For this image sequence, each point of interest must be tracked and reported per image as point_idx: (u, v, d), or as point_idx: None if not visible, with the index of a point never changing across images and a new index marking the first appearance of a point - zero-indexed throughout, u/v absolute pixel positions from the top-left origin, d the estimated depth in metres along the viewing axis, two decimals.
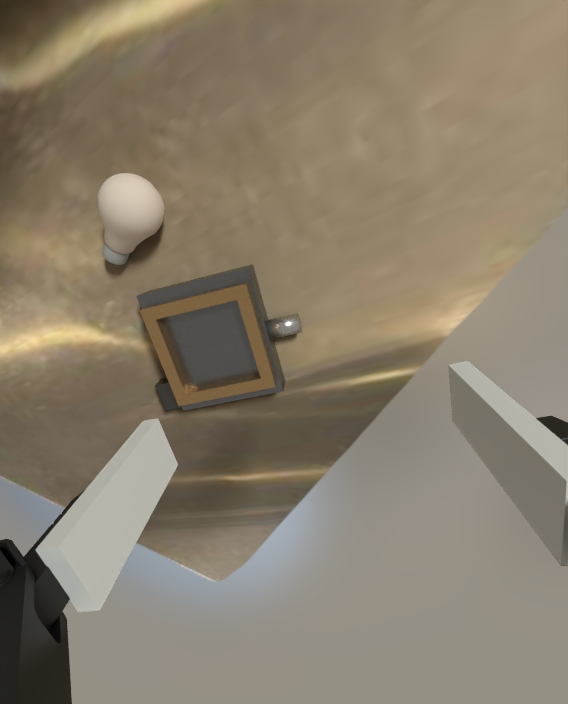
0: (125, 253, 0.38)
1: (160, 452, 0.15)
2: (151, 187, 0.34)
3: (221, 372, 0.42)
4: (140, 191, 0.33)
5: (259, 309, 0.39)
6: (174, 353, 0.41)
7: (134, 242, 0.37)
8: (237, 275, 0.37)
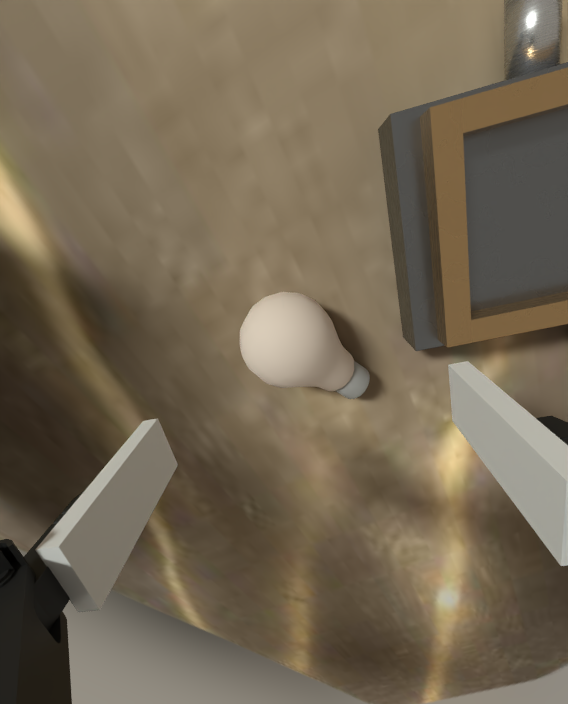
0: (354, 364, 0.24)
1: (160, 452, 0.15)
2: (258, 304, 0.21)
3: None
4: (264, 317, 0.20)
5: (486, 88, 0.17)
6: (542, 298, 0.20)
7: (339, 345, 0.22)
8: (404, 142, 0.18)
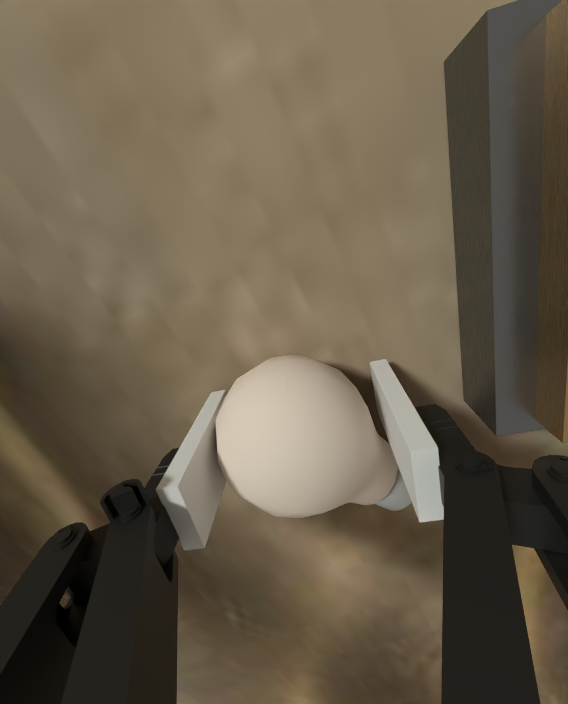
0: (396, 465, 0.15)
1: None
2: (245, 380, 0.13)
3: None
4: (254, 413, 0.11)
5: None
6: None
7: (377, 443, 0.14)
8: (509, 70, 0.09)
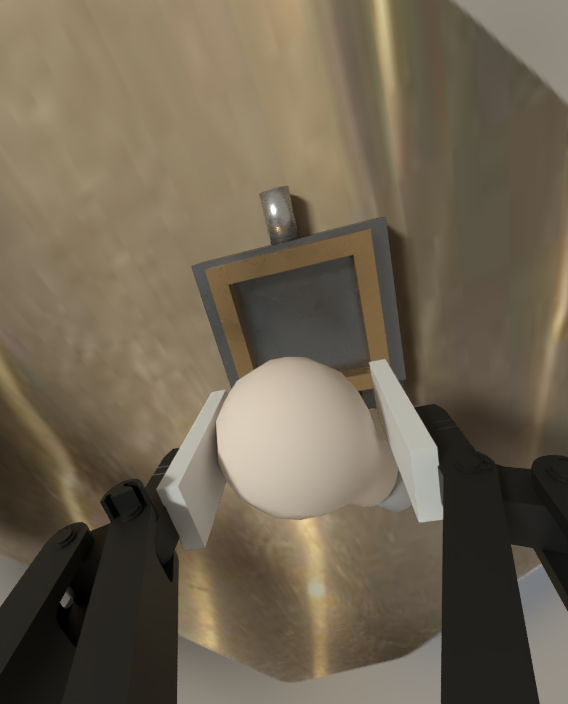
0: None
1: None
2: (246, 381, 0.13)
3: (345, 316, 0.28)
4: (254, 415, 0.11)
5: (248, 253, 0.27)
6: None
7: (378, 445, 0.14)
8: (203, 282, 0.28)
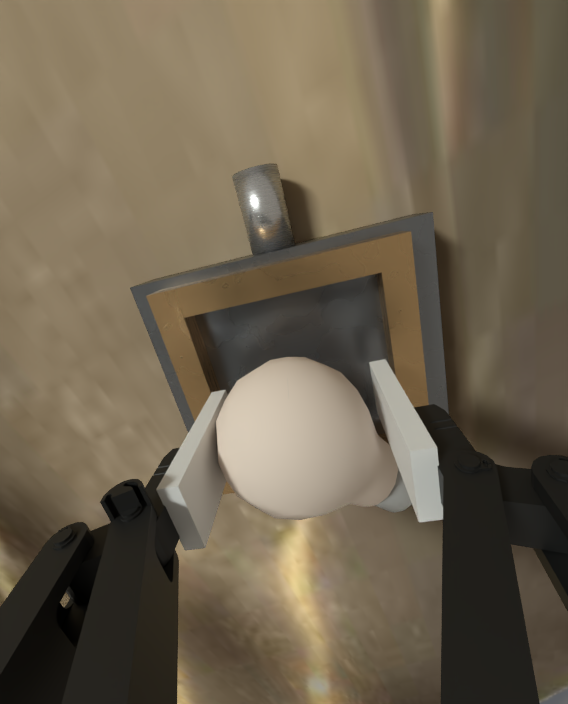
0: None
1: None
2: (246, 381, 0.13)
3: (364, 363, 0.19)
4: (254, 415, 0.11)
5: (215, 268, 0.17)
6: None
7: (378, 445, 0.14)
8: (149, 311, 0.18)
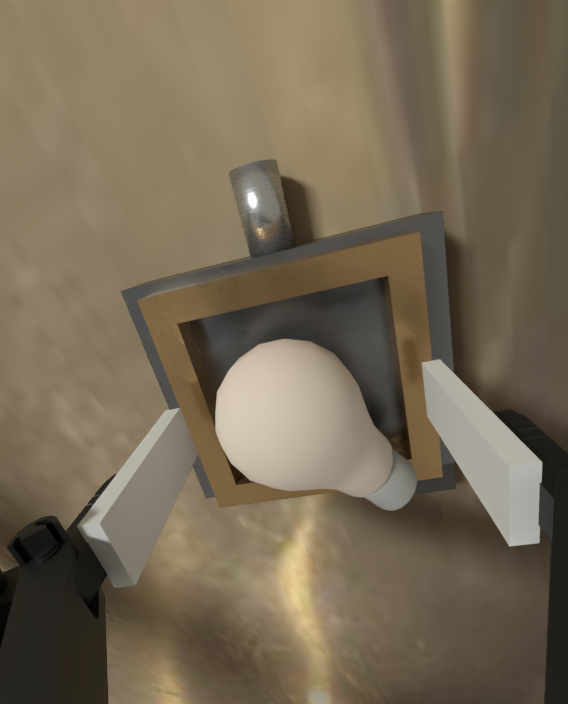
0: (392, 457, 0.15)
1: (182, 440, 0.15)
2: (246, 355, 0.14)
3: (368, 370, 0.18)
4: (249, 374, 0.12)
5: (211, 271, 0.16)
6: None
7: (370, 426, 0.14)
8: (141, 316, 0.17)
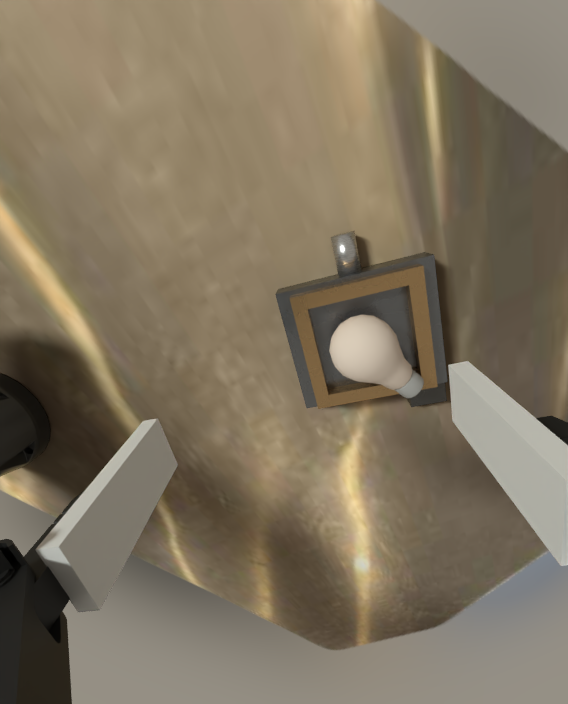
0: (411, 370, 0.32)
1: (160, 452, 0.15)
2: (344, 322, 0.32)
3: (398, 332, 0.35)
4: (350, 328, 0.30)
5: (322, 283, 0.34)
6: None
7: (401, 353, 0.31)
8: (284, 306, 0.35)
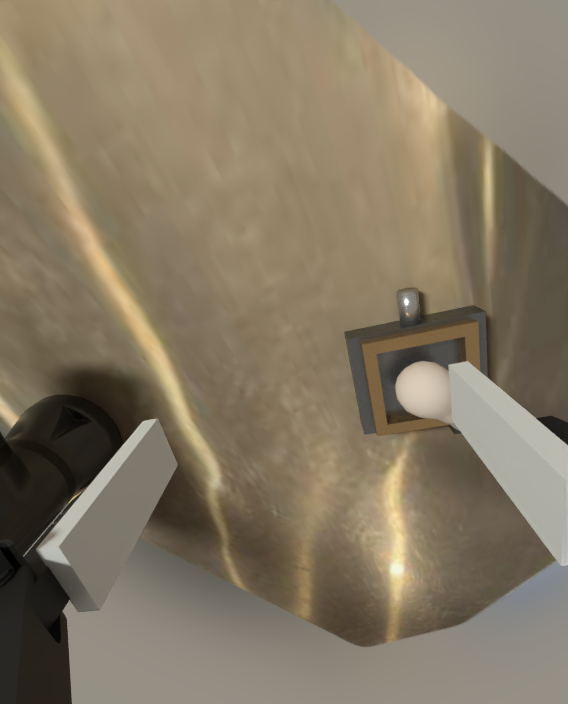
0: None
1: (160, 452, 0.15)
2: (410, 367, 0.37)
3: None
4: (419, 375, 0.36)
5: (388, 332, 0.39)
6: None
7: None
8: (353, 349, 0.41)
